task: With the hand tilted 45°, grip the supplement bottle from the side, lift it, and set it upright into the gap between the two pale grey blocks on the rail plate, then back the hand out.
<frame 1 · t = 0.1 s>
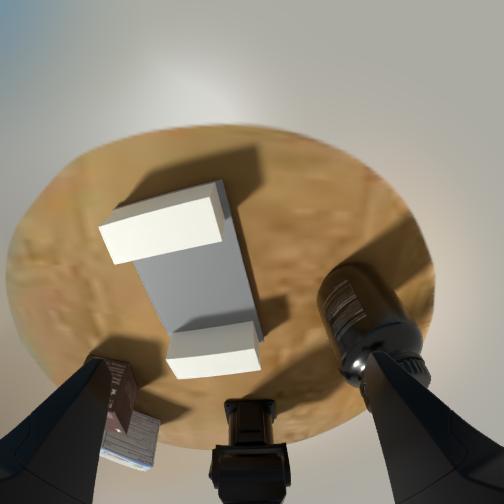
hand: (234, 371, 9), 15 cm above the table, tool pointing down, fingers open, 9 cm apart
box: (114, 371, 31), on the table
supplement bottle: (350, 290, 26), on the table
rail plate: (195, 280, 24), on the table
medicine box: (134, 413, 36), on the table
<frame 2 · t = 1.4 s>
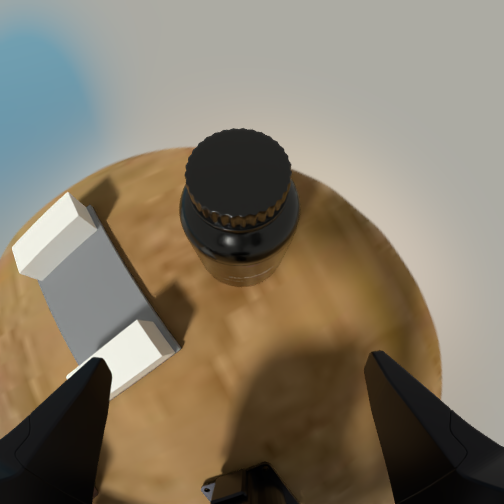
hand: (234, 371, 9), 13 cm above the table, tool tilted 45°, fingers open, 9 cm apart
supplement bottle: (242, 247, 24), on the table
rail plate: (92, 300, 22), on the table
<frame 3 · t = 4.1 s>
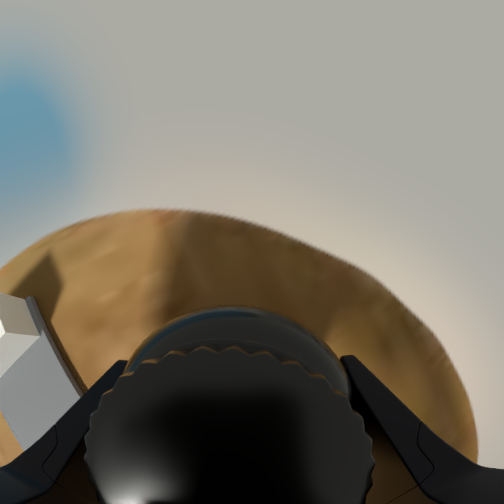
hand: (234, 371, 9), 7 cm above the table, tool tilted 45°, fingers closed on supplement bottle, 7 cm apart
supplement bottle: (241, 381, 15), on the table, touching gripper
rail plate: (50, 424, 13), on the table
when the fingers open (8 cm above the table, at t = 8.2 s): supplement bottle stays where it is, resting on rail plate.
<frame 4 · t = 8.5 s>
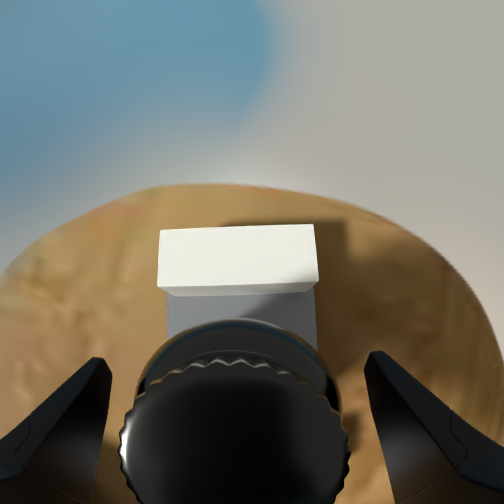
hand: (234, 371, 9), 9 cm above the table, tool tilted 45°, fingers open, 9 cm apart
supplement bottle: (242, 380, 16), resting on rail plate
rail plate: (243, 376, 16), on the table
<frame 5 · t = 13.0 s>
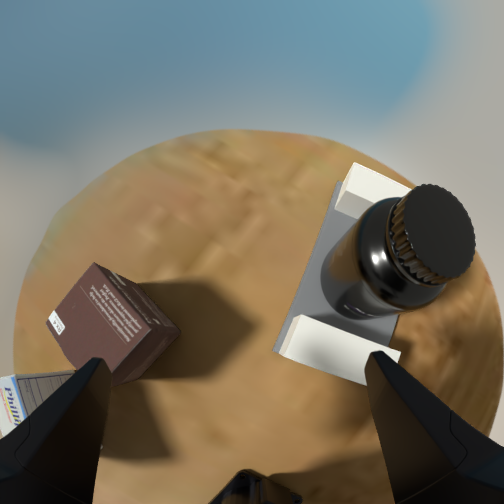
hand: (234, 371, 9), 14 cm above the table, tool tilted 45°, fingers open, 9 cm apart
box: (136, 331, 22), on the table
supplement bottle: (357, 280, 23), resting on rail plate
rail plate: (357, 279, 23), on the table
medicine box: (73, 411, 20), on the table
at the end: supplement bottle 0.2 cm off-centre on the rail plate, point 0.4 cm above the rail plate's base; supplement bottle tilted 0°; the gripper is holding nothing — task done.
